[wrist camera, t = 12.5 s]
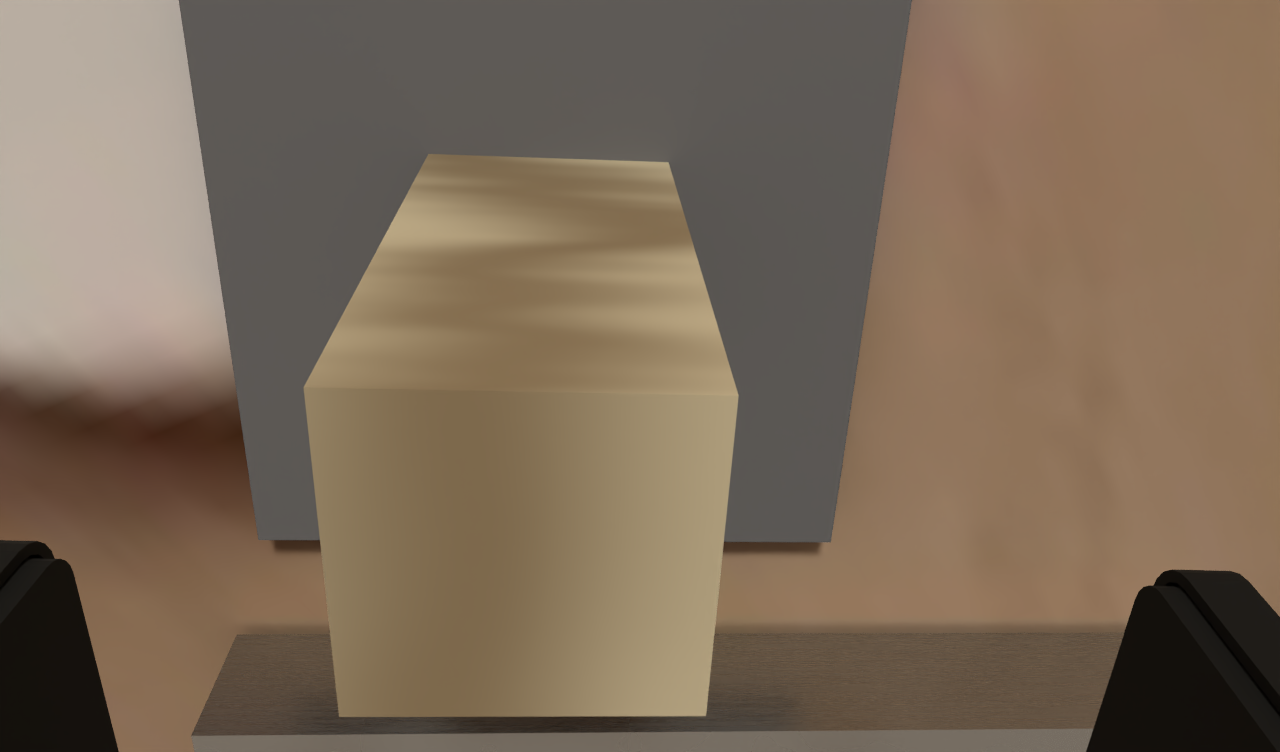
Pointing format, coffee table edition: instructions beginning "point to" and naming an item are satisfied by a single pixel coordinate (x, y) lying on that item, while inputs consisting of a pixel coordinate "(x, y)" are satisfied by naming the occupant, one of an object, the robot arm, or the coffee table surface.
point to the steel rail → (716, 700)
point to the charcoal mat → (567, 129)
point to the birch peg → (525, 450)
